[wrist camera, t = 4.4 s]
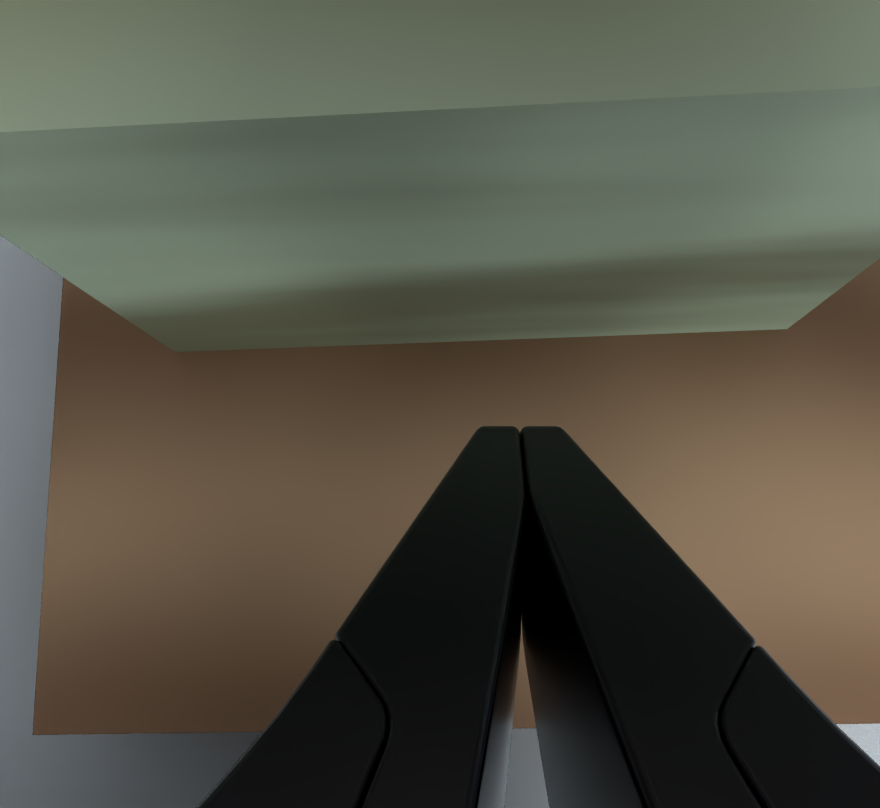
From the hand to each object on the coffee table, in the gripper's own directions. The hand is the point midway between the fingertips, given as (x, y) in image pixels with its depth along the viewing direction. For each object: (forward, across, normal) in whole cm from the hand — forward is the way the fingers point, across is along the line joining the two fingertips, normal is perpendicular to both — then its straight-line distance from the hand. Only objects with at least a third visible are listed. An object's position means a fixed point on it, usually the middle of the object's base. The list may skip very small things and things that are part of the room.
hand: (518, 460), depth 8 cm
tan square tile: (+7, 0, +3) cm, 7 cm away
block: (+7, +1, 0) cm, 7 cm away
